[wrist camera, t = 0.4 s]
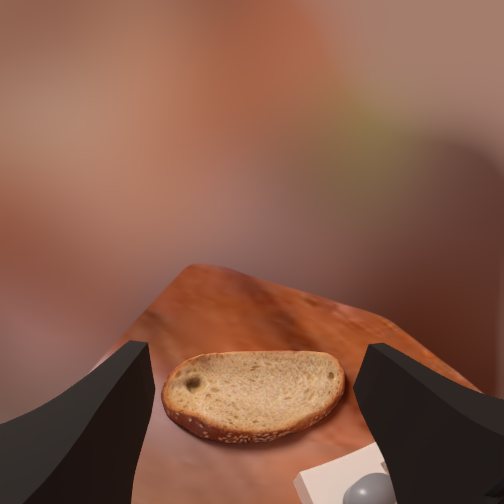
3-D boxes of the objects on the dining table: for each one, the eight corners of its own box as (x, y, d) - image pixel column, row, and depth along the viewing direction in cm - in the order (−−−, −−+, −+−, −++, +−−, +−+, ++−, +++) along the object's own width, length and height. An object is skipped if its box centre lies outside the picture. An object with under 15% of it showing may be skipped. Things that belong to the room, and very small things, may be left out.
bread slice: (353, 371, 31) (361, 352, 29) (288, 490, 17) (294, 480, 16) (237, 324, 40) (238, 304, 38) (146, 401, 26) (138, 382, 24)
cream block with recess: (448, 490, 12) (481, 470, 10) (329, 562, 9) (352, 563, 7) (408, 431, 21) (431, 404, 19) (292, 482, 18) (304, 464, 15)
